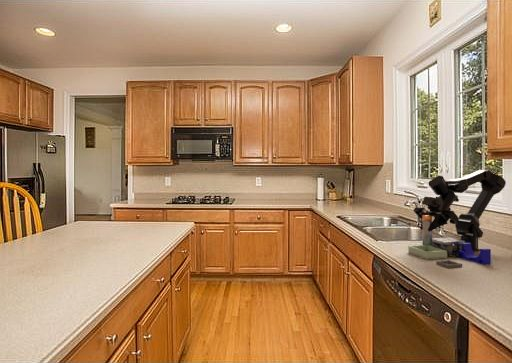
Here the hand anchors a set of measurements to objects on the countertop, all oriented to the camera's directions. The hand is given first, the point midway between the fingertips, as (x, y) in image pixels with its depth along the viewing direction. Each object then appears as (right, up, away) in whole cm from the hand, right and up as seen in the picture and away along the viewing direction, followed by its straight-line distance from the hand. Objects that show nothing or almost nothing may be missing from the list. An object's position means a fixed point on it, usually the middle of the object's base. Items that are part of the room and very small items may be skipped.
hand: (424, 229), depth 142 cm
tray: (+1, -11, +1) cm, 11 cm away
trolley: (+11, -11, +3) cm, 16 cm away
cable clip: (+15, -11, -8) cm, 21 cm away
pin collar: (+2, -11, -14) cm, 18 cm away
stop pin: (+1, -7, +1) cm, 7 cm away
